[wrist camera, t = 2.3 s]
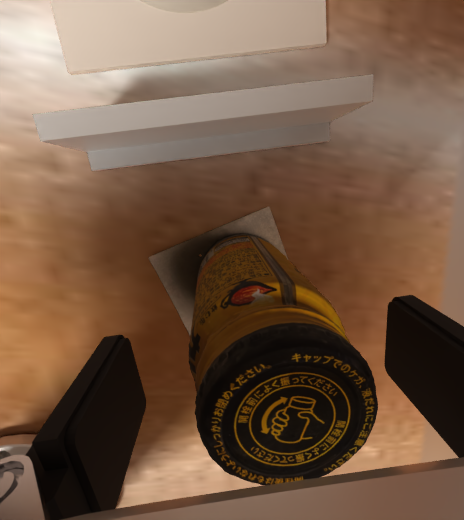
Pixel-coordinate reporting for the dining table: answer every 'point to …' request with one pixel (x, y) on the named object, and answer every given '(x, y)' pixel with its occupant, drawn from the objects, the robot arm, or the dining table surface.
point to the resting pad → (181, 30)
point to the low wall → (205, 123)
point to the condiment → (266, 356)
